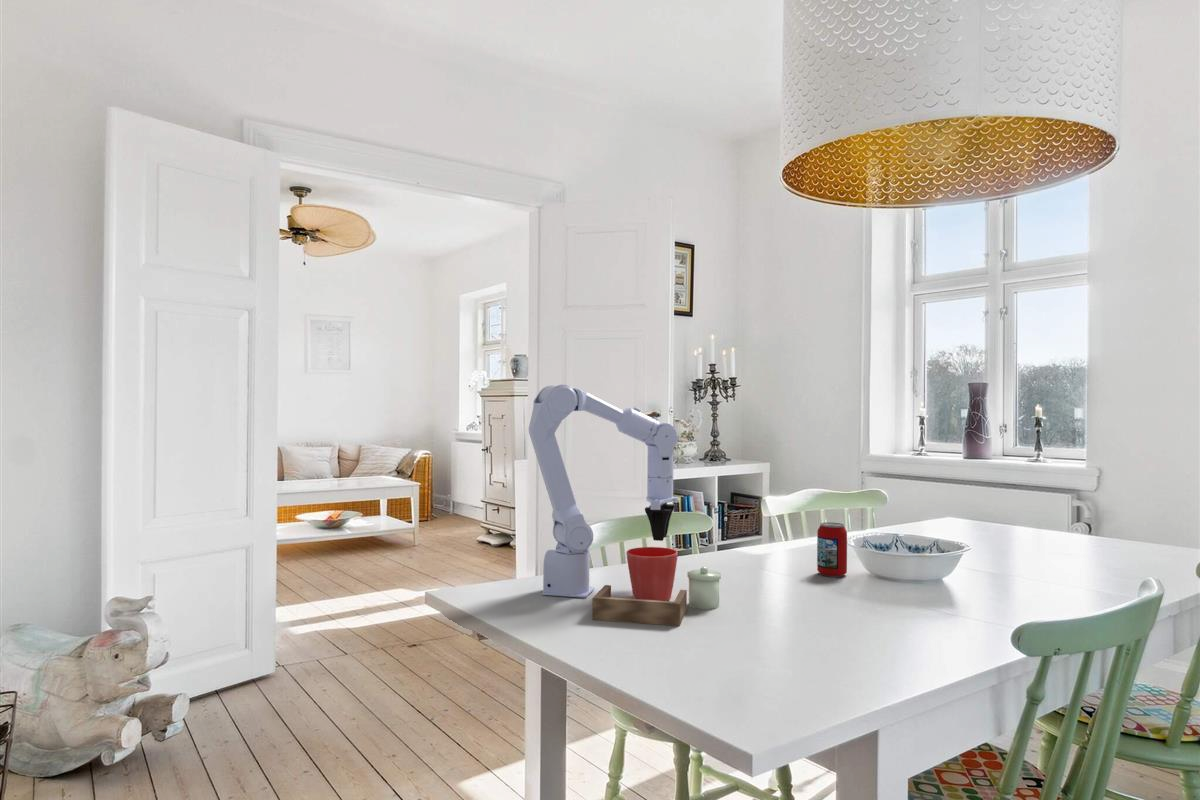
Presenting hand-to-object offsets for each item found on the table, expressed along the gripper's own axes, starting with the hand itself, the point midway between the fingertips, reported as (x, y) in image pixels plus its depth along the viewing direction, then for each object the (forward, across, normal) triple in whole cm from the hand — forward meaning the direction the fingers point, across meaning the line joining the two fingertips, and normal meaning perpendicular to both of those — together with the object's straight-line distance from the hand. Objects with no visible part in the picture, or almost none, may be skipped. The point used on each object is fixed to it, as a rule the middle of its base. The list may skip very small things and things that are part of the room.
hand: (659, 538), depth 166 cm
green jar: (+10, -14, -11) cm, 21 cm away
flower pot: (+11, -11, 0) cm, 15 cm away
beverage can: (+11, +22, -38) cm, 45 cm away
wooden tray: (+10, -24, 0) cm, 26 cm away
